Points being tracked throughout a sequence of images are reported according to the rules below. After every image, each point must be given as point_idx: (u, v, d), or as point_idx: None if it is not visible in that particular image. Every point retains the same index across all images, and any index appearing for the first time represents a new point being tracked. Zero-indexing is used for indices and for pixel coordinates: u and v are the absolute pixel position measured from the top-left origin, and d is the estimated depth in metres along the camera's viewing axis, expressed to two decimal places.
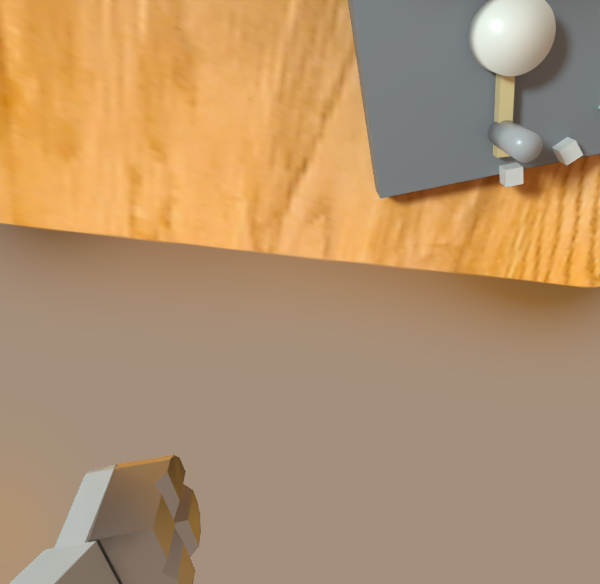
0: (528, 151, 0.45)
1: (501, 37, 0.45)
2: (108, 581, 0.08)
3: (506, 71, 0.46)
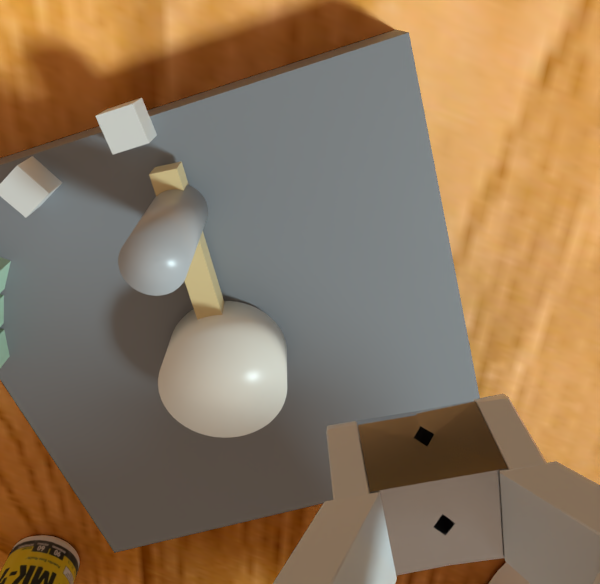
0: (147, 257, 0.20)
1: (248, 382, 0.26)
2: (383, 535, 0.08)
3: (223, 338, 0.25)
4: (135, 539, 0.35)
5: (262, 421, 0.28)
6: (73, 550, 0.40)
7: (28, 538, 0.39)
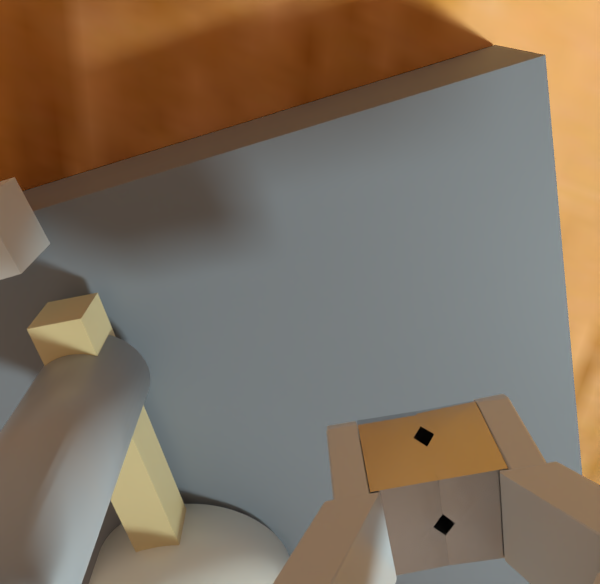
0: None
1: None
2: (383, 535, 0.08)
3: None
4: None
5: None
6: None
7: None
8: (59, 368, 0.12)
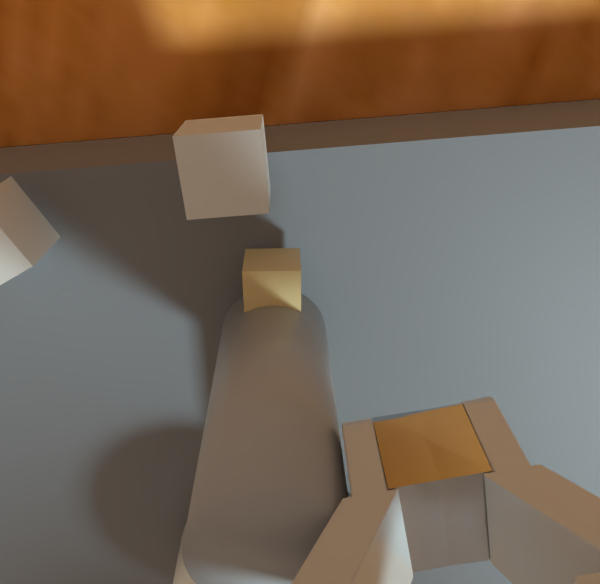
0: (261, 538, 0.08)
1: None
2: (401, 532, 0.08)
3: None
4: None
5: None
6: None
7: None
8: (270, 317, 0.12)
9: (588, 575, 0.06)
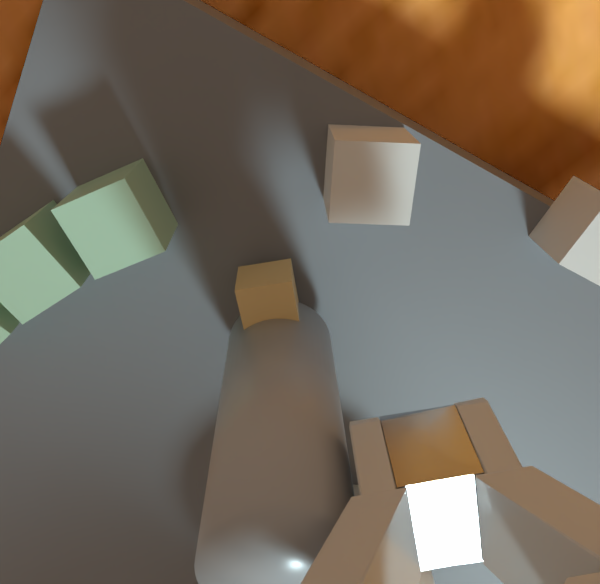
0: (268, 553, 0.08)
1: None
2: (409, 530, 0.08)
3: None
4: None
5: None
6: None
7: None
8: (268, 331, 0.12)
9: (577, 577, 0.06)
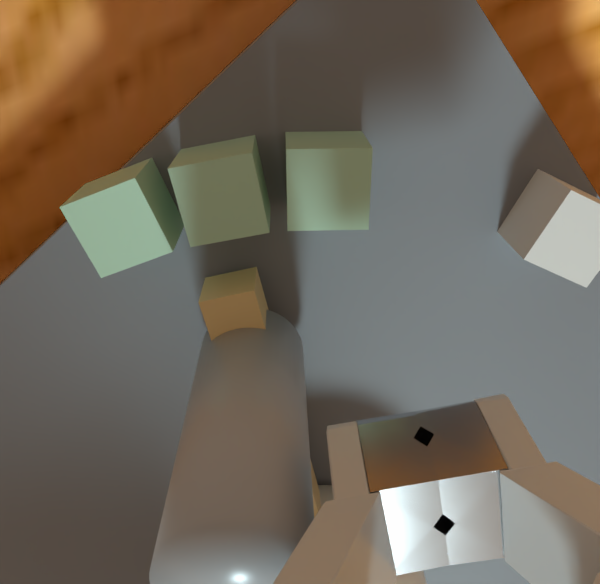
0: (221, 566, 0.08)
1: None
2: (383, 535, 0.08)
3: None
4: None
5: None
6: None
7: None
8: (233, 341, 0.12)
9: None
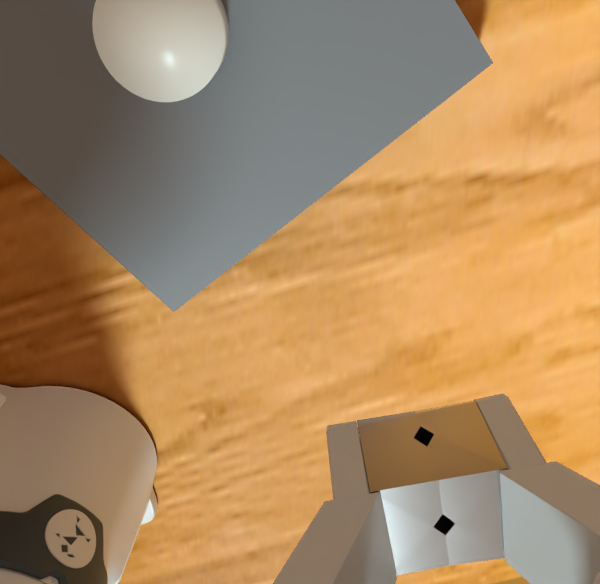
0: None
1: (184, 29, 0.26)
2: (383, 535, 0.08)
3: None
4: None
5: (200, 81, 0.27)
6: None
7: None
8: None
9: None
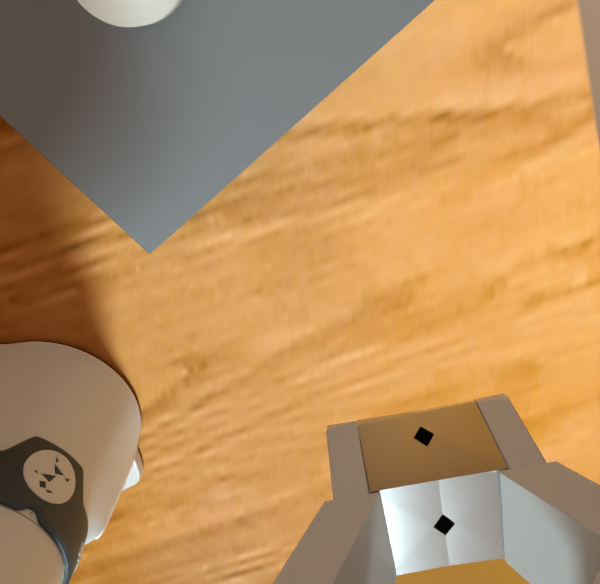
0: None
1: None
2: (383, 535, 0.08)
3: None
4: None
5: (162, 5, 0.29)
6: None
7: None
8: None
9: None
